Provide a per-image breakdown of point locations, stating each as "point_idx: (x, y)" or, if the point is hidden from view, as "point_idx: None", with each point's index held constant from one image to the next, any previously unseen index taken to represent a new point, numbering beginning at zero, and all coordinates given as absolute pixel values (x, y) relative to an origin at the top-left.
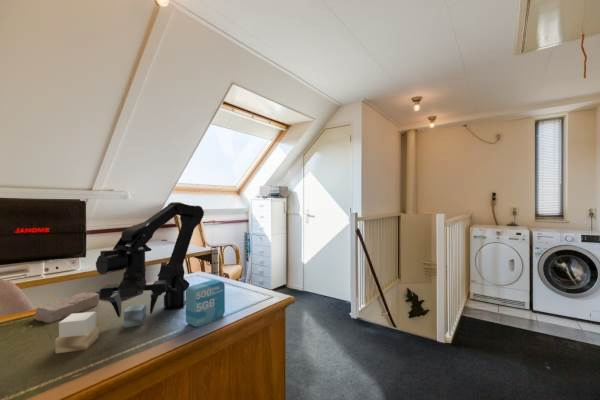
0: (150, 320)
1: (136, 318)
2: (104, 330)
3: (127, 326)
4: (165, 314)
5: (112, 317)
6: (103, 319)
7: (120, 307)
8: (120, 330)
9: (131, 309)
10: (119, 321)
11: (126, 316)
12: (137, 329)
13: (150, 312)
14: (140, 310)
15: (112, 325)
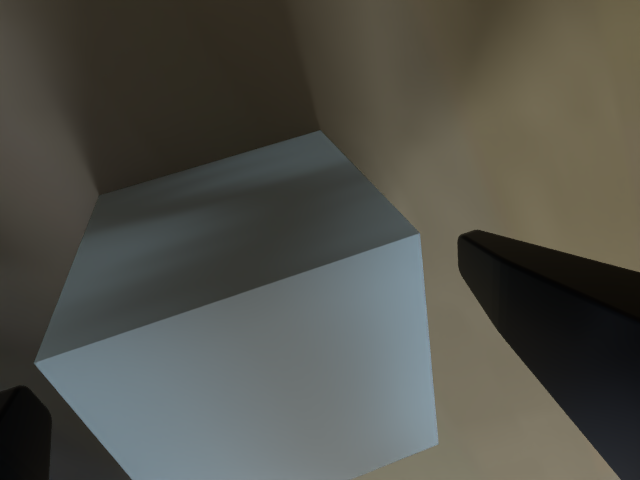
0: None
1: (163, 227)
2: (520, 43)
3: (279, 143)
4: None
5: None
6: None
7: (548, 363)
8: (314, 32)
9: (318, 348)
10: (449, 270)
11: (333, 201)
12: (53, 58)
13: (4, 404)
14: (63, 346)
15: (480, 180)
